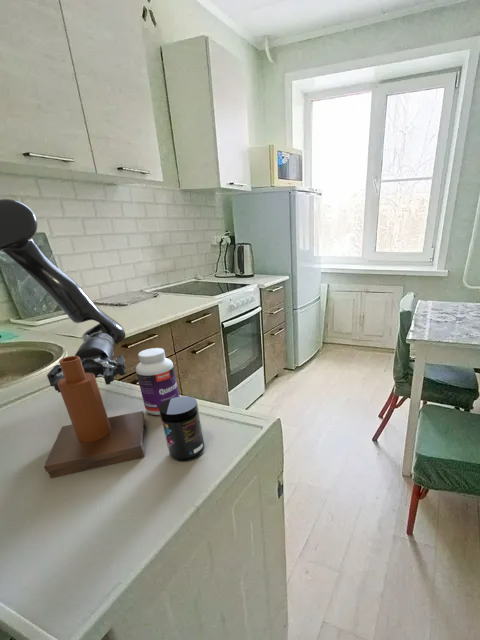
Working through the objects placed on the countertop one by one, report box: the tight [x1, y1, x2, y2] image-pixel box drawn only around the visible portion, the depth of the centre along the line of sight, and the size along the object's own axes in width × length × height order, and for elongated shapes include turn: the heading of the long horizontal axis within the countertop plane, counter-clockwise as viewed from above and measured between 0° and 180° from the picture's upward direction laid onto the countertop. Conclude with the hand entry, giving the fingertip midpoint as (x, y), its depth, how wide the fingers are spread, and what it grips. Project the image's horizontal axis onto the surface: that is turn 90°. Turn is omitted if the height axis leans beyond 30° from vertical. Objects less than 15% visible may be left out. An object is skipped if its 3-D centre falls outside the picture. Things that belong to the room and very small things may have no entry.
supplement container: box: [159, 395, 205, 462], centre depth 66 cm, size 7×7×10 cm
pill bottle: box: [135, 347, 180, 416], centre depth 81 cm, size 8×8×14 cm
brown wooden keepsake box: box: [43, 410, 147, 479], centre depth 70 cm, size 16×14×3 cm
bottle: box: [57, 355, 111, 442], centre depth 67 cm, size 6×6×16 cm
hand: (83, 384), depth 69 cm, fingers open, 8 cm apart
